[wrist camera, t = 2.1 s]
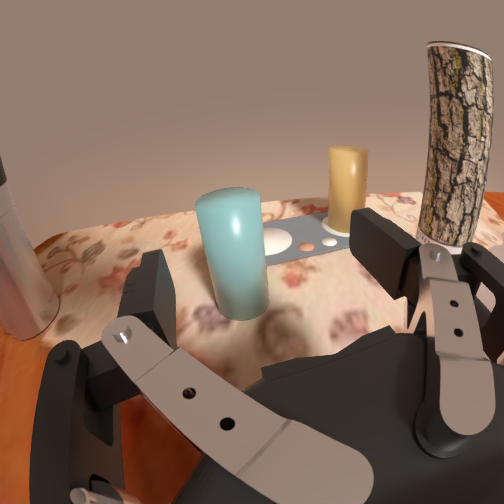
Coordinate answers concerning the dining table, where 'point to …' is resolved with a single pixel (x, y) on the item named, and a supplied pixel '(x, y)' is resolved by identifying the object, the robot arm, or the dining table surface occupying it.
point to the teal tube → (235, 250)
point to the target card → (301, 238)
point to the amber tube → (346, 184)
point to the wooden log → (456, 143)
